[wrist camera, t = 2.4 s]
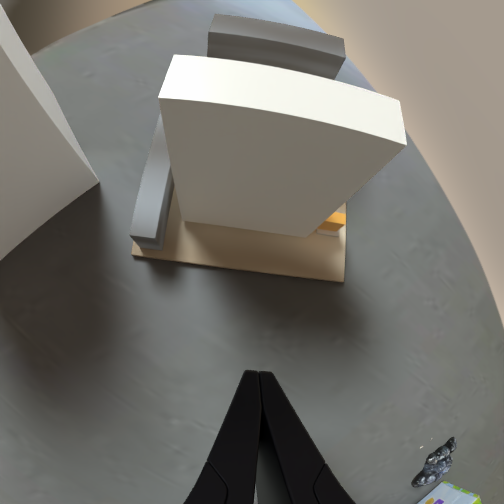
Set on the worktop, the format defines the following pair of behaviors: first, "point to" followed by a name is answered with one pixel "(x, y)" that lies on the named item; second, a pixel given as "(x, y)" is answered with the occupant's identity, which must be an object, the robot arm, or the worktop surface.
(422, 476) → the blueberries
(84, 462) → the worktop surface
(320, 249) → the gauge bench
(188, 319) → the worktop surface
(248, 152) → the white rectangular slab
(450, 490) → the snack box
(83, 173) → the milk
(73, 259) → the worktop surface
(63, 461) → the worktop surface
